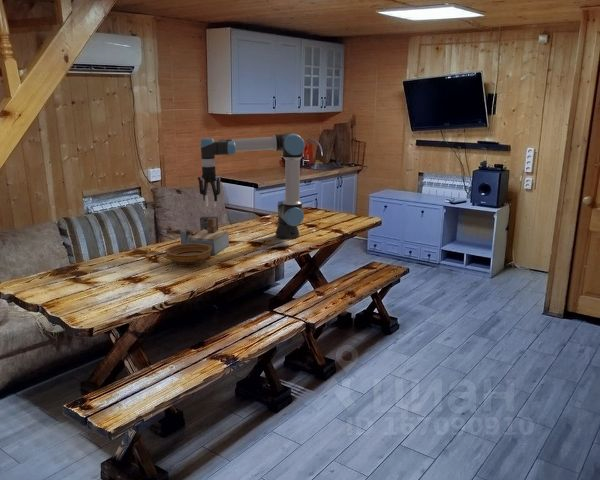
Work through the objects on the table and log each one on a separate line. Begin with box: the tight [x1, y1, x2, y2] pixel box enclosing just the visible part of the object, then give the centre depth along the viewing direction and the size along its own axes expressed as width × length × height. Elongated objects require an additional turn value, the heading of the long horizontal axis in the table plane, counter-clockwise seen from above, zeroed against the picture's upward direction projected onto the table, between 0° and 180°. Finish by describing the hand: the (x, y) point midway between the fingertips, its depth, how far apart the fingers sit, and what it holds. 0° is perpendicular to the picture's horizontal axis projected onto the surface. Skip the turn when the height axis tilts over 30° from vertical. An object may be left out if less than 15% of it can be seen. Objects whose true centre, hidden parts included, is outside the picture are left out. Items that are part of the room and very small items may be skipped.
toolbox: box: [179, 227, 230, 256], centre depth 310 cm, size 22×20×12 cm
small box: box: [199, 216, 219, 231], centre depth 349 cm, size 11×6×10 cm, turn 84°
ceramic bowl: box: [163, 243, 213, 267], centre depth 284 cm, size 30×24×8 cm
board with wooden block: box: [189, 218, 228, 241], centre depth 308 cm, size 15×19×9 cm
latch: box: [166, 227, 194, 236], centre depth 309 cm, size 15×3×3 cm, turn 74°
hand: (210, 206), depth 309 cm, fingers open, 4 cm apart
